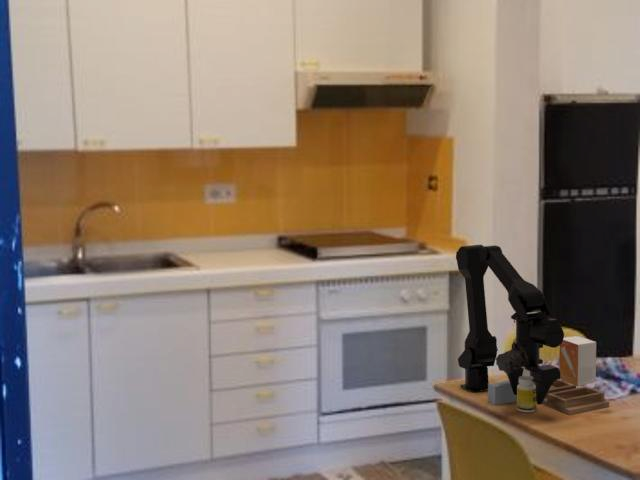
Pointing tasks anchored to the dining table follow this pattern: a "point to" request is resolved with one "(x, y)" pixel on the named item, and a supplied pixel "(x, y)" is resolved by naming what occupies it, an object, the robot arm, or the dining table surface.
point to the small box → (578, 360)
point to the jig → (573, 398)
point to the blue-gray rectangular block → (501, 393)
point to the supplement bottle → (526, 394)
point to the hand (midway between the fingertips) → (527, 399)
